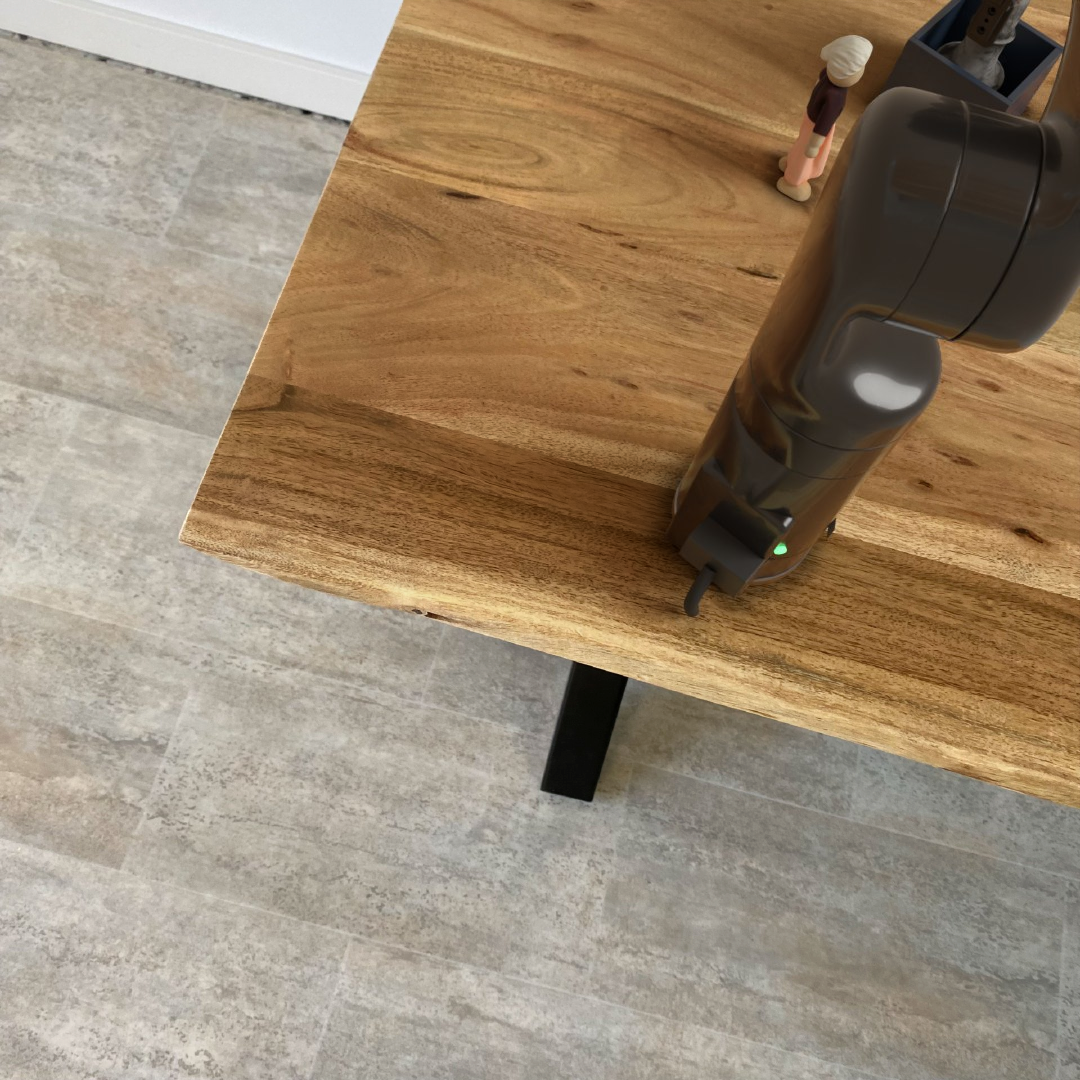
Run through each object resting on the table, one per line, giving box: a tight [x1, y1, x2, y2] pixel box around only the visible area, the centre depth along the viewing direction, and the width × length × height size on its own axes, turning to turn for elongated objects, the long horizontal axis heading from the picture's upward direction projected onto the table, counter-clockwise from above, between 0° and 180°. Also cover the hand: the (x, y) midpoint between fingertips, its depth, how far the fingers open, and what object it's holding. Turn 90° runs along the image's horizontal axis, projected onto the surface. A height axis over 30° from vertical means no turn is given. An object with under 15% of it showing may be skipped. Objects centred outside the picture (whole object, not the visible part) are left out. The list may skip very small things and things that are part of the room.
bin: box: [880, 0, 1064, 117], centre depth 88 cm, size 9×9×7 cm
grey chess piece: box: [937, 0, 1031, 91], centre depth 85 cm, size 6×6×12 cm
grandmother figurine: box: [776, 34, 874, 202], centre depth 79 cm, size 8×4×13 cm, turn 179°
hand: (1005, 14), depth 82 cm, fingers open, 8 cm apart
